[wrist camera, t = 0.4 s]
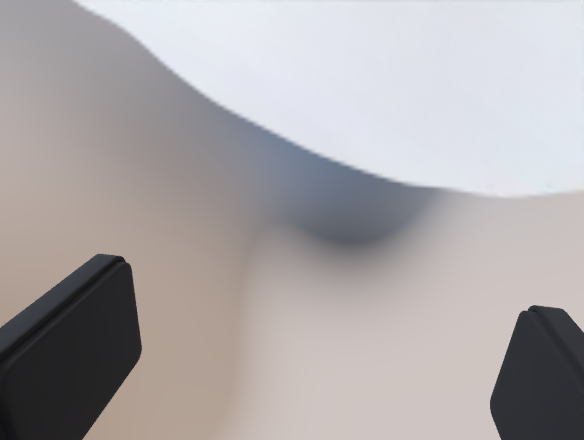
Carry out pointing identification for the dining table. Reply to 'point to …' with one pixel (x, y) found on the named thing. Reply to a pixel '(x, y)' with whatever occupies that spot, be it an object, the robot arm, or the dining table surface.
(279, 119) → the dining table surface
